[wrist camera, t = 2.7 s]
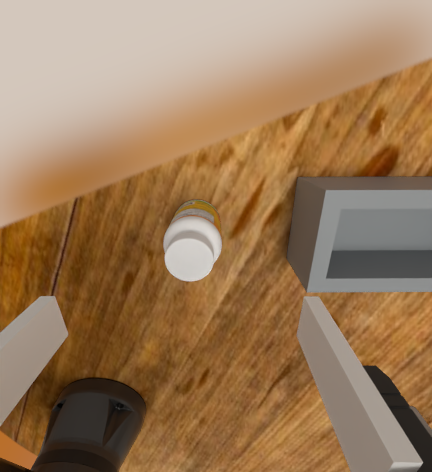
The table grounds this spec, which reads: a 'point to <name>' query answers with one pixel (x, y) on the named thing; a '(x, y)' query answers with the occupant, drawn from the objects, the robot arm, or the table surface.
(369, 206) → the tray
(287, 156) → the table surface
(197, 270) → the supplement bottle
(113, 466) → the robot arm
